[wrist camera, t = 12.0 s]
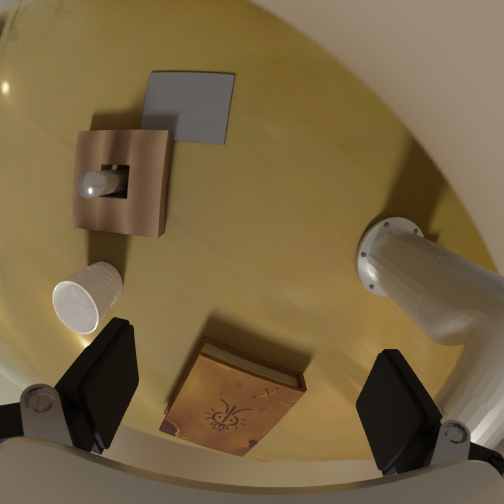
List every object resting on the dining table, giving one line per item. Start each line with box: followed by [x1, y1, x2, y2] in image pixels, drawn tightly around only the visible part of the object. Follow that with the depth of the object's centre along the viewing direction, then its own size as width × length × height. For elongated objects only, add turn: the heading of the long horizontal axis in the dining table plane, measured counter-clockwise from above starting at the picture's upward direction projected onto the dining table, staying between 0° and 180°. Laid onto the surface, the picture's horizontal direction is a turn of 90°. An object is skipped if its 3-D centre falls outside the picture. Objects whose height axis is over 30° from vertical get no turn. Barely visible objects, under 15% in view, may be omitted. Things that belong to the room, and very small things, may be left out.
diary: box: [159, 337, 307, 457], centre depth 45 cm, size 23×19×6 cm
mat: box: [140, 72, 235, 144], centre depth 33 cm, size 12×10×1 cm
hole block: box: [73, 130, 173, 238], centre depth 35 cm, size 14×14×3 cm
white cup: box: [52, 261, 123, 334], centre depth 36 cm, size 8×8×10 cm
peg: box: [77, 170, 129, 198], centre depth 31 cm, size 3×3×10 cm
